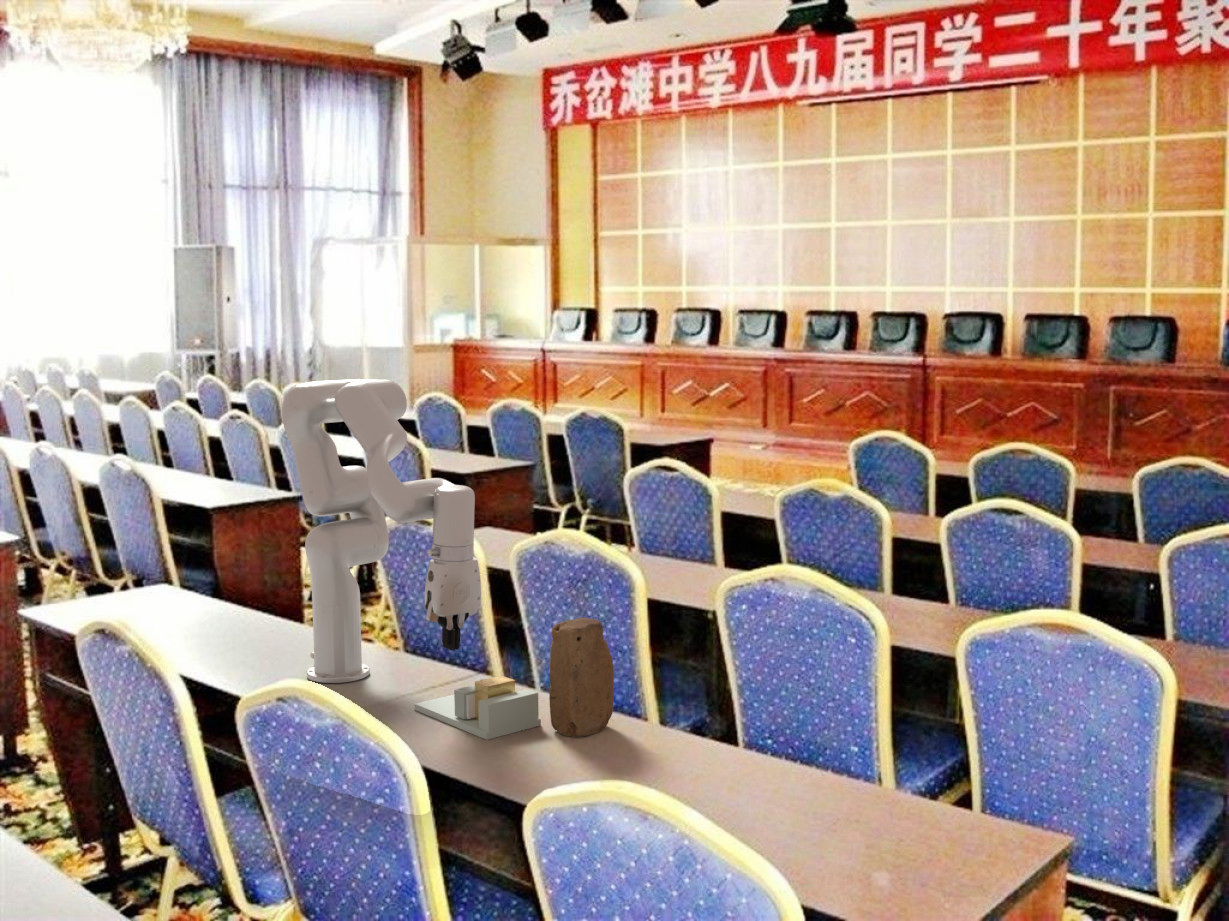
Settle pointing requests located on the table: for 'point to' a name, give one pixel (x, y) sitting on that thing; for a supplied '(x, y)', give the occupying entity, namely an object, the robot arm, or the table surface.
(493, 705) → the vise body
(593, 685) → the block
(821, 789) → the table surface
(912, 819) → the table surface
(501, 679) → the tan rectangular workpiece
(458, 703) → the sliding jaw
